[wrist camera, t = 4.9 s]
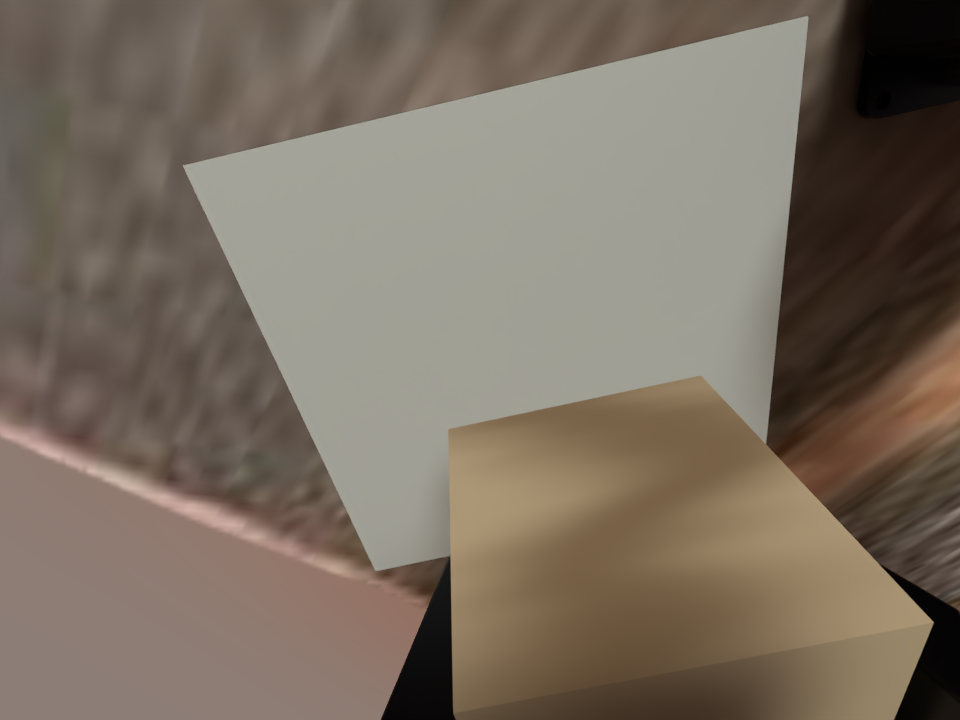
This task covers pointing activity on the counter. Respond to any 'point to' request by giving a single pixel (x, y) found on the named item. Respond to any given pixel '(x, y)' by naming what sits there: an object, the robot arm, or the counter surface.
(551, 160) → the plinth
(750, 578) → the pine cube
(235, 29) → the counter surface
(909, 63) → the robot arm
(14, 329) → the counter surface
